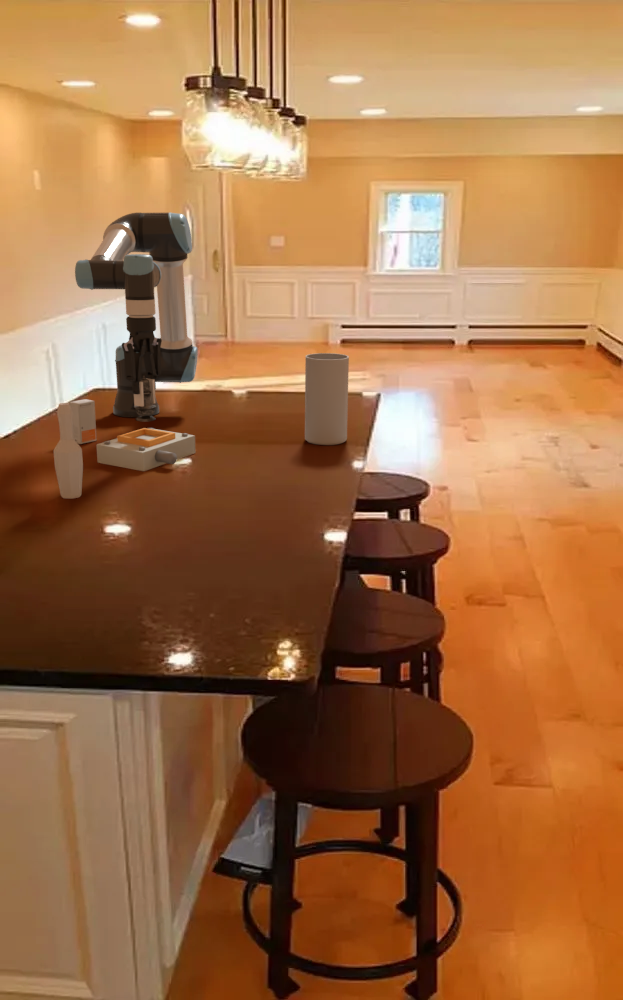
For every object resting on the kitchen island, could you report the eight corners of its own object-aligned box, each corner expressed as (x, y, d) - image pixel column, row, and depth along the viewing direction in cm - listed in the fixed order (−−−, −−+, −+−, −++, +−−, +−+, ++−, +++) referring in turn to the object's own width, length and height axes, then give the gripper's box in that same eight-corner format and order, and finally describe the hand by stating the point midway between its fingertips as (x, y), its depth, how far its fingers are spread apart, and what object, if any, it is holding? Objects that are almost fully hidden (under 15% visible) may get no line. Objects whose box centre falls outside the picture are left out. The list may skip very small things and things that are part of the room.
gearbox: (150, 445, 253) (149, 423, 251) (210, 455, 243) (209, 432, 241) (97, 462, 235) (96, 438, 233) (159, 474, 225) (158, 449, 223)
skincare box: (81, 444, 252) (78, 403, 249) (71, 442, 255) (68, 401, 251) (97, 440, 257) (95, 400, 253) (88, 438, 259) (85, 398, 256)
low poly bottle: (57, 500, 203) (49, 407, 196) (57, 492, 209) (49, 401, 202) (85, 498, 205) (78, 406, 198) (84, 490, 211) (78, 400, 204)
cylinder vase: (300, 444, 256) (300, 358, 248) (310, 434, 268) (311, 352, 260) (342, 447, 253) (344, 360, 245) (350, 437, 265) (352, 354, 257)
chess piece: (152, 422, 233) (150, 377, 229) (131, 421, 234) (129, 376, 230) (160, 417, 239) (158, 373, 235) (139, 416, 240) (137, 372, 236)
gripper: (150, 312, 237) (154, 397, 244) (107, 317, 223) (112, 408, 230) (172, 314, 233) (176, 400, 241) (129, 319, 219) (134, 411, 226)
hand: (145, 404), depth 235 cm, fingers closed on chess piece, 4 cm apart
